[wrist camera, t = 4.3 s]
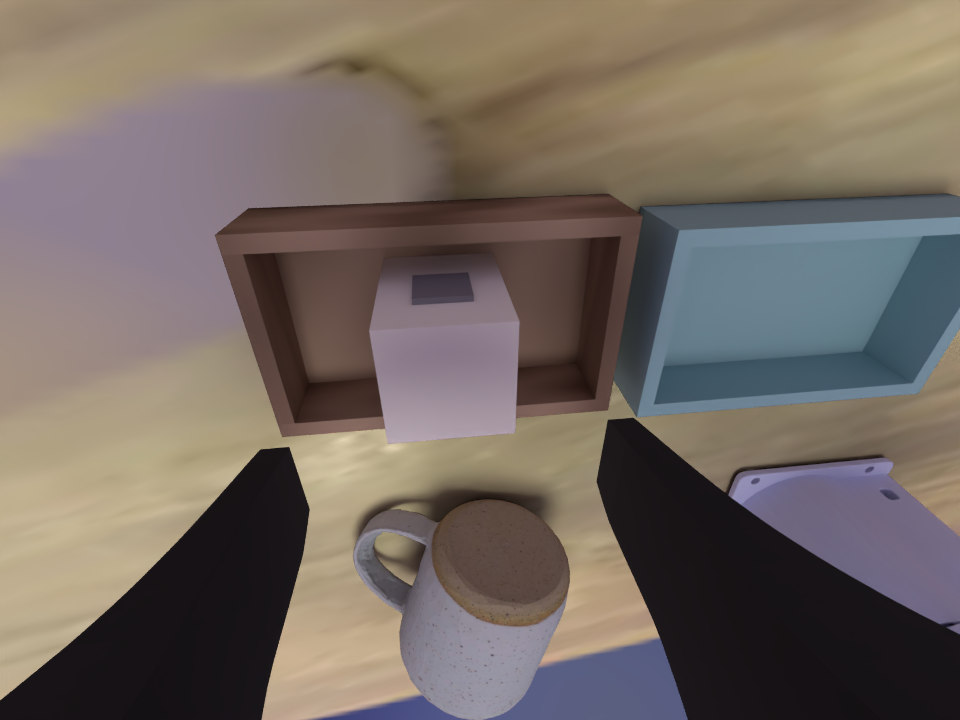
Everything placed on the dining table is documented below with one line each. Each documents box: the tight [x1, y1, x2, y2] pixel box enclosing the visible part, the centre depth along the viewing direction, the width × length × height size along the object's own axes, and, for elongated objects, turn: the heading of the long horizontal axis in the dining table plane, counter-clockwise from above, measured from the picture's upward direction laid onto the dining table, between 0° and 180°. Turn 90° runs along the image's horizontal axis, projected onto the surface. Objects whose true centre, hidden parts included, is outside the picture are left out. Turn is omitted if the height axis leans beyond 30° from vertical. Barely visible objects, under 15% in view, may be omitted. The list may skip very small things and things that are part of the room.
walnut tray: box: [215, 194, 643, 437], centre depth 17 cm, size 13×8×3 cm, turn 91°
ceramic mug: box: [353, 499, 570, 720], centre depth 23 cm, size 11×8×8 cm
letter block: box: [369, 253, 520, 444], centre depth 15 cm, size 4×4×6 cm
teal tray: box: [613, 194, 960, 417], centre depth 18 cm, size 13×8×3 cm, turn 91°
